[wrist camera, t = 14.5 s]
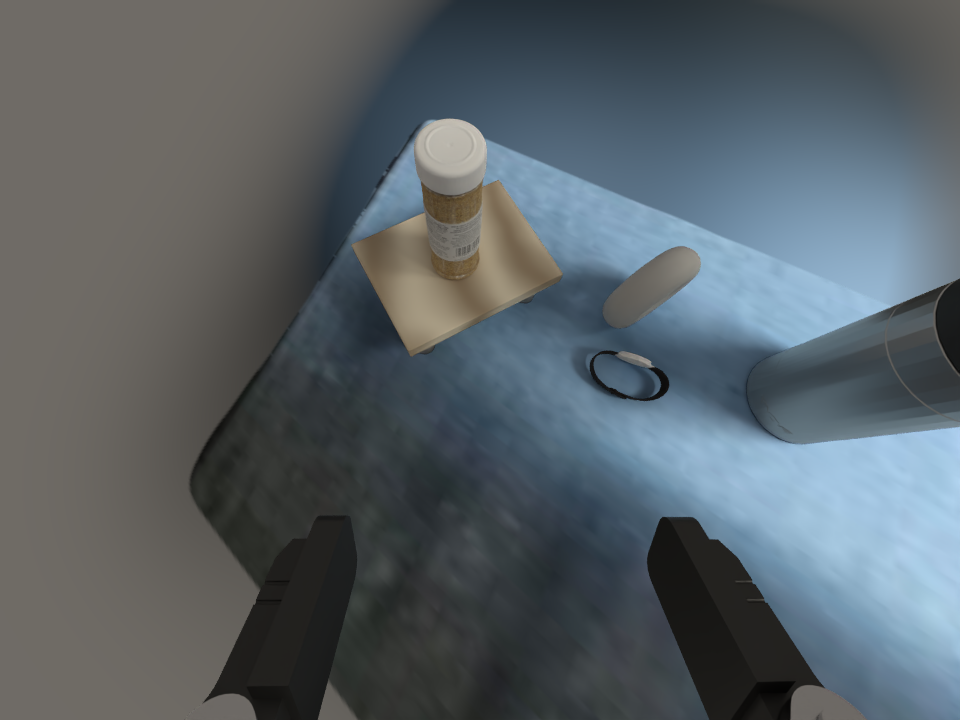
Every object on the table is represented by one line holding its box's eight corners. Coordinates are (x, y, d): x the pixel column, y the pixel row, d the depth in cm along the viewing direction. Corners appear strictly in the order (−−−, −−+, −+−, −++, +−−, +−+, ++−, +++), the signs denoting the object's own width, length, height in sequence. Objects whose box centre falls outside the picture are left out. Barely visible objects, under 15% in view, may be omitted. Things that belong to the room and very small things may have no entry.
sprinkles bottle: (469, 233, 38) (472, 107, 25) (486, 273, 37) (498, 163, 24) (424, 247, 38) (403, 125, 25) (439, 288, 36) (426, 182, 24)
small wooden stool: (494, 217, 46) (498, 179, 40) (549, 301, 43) (563, 273, 37) (366, 276, 43) (351, 244, 37) (416, 370, 40) (408, 351, 35)
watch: (663, 372, 42) (682, 362, 38) (652, 414, 40) (670, 407, 37) (593, 345, 42) (605, 333, 39) (579, 385, 41) (590, 376, 37)
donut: (603, 347, 42) (645, 307, 32) (583, 322, 43) (617, 275, 33) (673, 299, 44) (731, 248, 34) (652, 276, 45) (703, 219, 35)
